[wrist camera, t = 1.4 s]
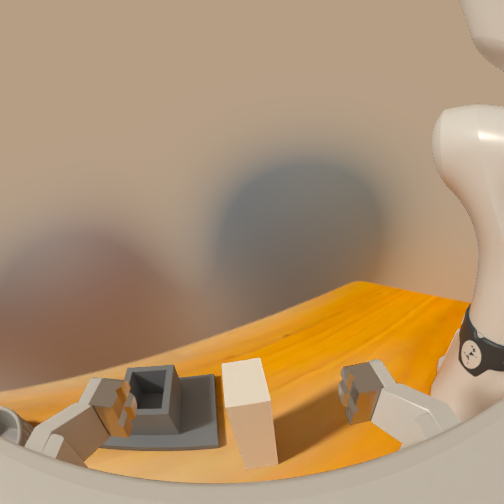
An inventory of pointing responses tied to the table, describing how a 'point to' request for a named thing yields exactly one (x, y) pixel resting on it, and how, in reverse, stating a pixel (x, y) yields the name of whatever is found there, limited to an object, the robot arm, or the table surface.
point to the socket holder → (170, 411)
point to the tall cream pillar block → (250, 412)
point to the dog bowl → (14, 427)
